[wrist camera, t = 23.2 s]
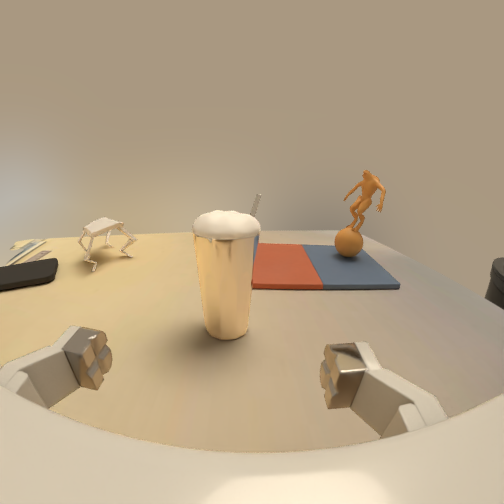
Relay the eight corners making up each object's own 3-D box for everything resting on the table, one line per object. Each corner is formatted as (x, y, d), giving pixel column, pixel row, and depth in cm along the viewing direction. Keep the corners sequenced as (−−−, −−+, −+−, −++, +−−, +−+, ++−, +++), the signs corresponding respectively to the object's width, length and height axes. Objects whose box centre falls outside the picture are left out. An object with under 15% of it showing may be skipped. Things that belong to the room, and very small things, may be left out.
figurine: (320, 247, 40) (327, 165, 36) (353, 246, 41) (361, 169, 37) (351, 268, 32) (363, 169, 28) (386, 264, 33) (398, 174, 30)
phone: (52, 276, 25) (-39, 291, 18) (54, 282, 26) (-37, 297, 18) (58, 257, 31) (-22, 271, 23) (59, 262, 31) (-21, 276, 24)
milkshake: (274, 325, 21) (283, 198, 18) (223, 354, 18) (221, 205, 15) (236, 304, 24) (238, 191, 21) (186, 325, 21) (178, 197, 18)
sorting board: (359, 250, 41) (359, 246, 41) (399, 288, 28) (400, 283, 28) (238, 246, 41) (238, 242, 41) (230, 287, 28) (230, 282, 27)
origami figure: (144, 263, 33) (141, 225, 31) (83, 275, 28) (76, 236, 27) (126, 241, 42) (124, 211, 40) (79, 249, 37) (75, 219, 36)
